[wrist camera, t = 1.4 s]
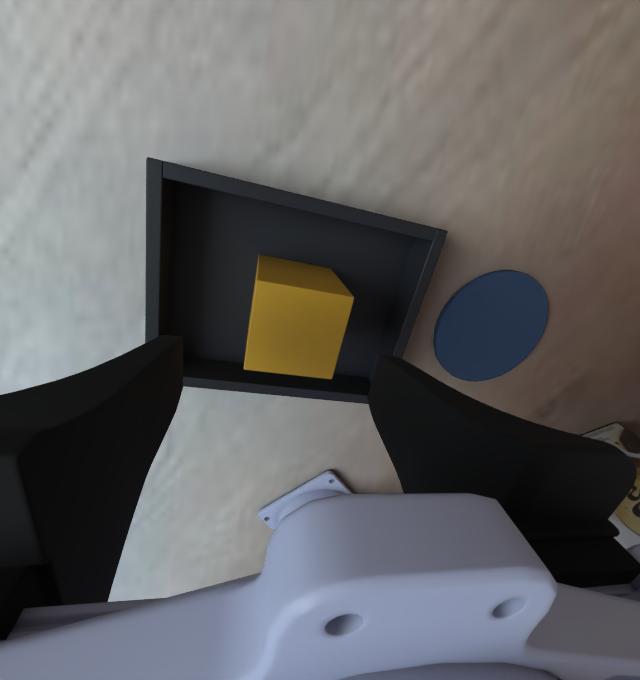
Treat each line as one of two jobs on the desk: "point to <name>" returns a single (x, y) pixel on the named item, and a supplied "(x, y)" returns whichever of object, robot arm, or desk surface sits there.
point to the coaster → (490, 325)
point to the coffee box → (636, 509)
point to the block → (296, 319)
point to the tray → (285, 243)
